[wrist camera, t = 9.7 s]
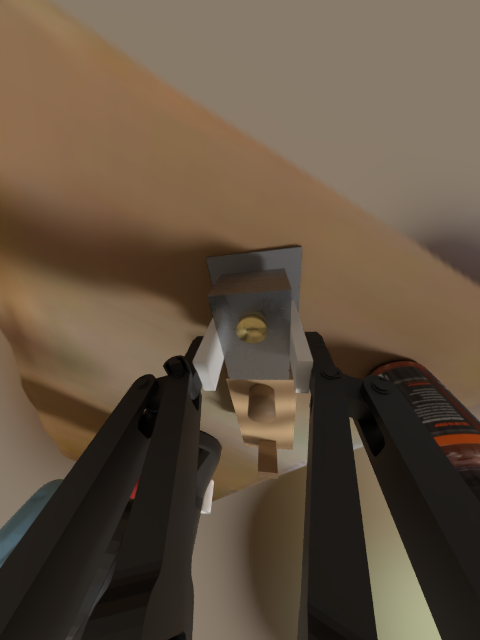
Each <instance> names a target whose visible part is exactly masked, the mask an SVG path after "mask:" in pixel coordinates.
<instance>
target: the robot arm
mask: <svg viewBox="0 0 480 640" xmlns="http://www.w3.org/2000/svg"><path fill="white" fill-rule="evenodd" d="M223 360H224V356H223V352H222V348H221V344H220V341H219V337H218V333H217V330H216V327H215V323H214V319H213V318H212V320H211V322H210V324H209V327H208V329H207V331H206V333H205V335H204V336H197V337H196V338H195V339H194V340H193V341H192V343H191V345H190V347H189V349H188V351H187V353H186V355H185V357H184V356H181V355H180V356H174V357H172V358H170V359H168V360H167V361H166V362H165V363H164V365H163V367H164V369H165V371H166V372H167V374H168V375H167V376H164V377H160V378H155V377H154V376H153V375H151V374H147V375H144V376H141V377H140V378H138V379H137V380H136V381H135V382H134V383H133V384H132V386H131V387H130V389H129V390H128V391H127V393H126V394H125V396H124V397H123V398H122V400H121V401H120V402H119V404H118V405H117V407H116V408H115V409H114V411H113V412H112V414H111V415H110V416H109V418H108V419H107V420H106V422H105V423H104V425H103V426H102V427H101V429H100V430H99V432H98V433H97V434H96V436H95V437H94V439H93V440H92V441H91V443H90V444H89V445H88V447H87V448H86V450H85V451H84V452H83V454H82V455H81V457H80V458H79V459H78V461H77V462H76V463H75V465H74V466H73V468H72V469H71V471H70V472H69V473H68V475H67V476H66V477H65V479H64V480H63V479H57V480H53V481H51V482H48V483H47V484H45V485H43V486H42V487H41V488H40V489H38V490H37V492H35V493H34V494H33V495H32V496H31V497H30V499H29V500H28V501H27V502H26V503H25V504H24V505H23V506H22V507H21V508H20V509H19V510H18V511H17V512H16V513H15V514H14V515H13V516H12V517H11V518H10V520H9V521H8V522H7V523H6V524H5V525H4V526H3V527H2V528H1V529H0V640H192V630H193V609H194V591H193V582H192V577H191V562H192V554H193V549H194V544H195V539H196V534H197V528H198V524H199V518H200V514H201V509H202V504H203V499H204V495H205V492H206V490H207V487H208V485H209V483H210V481H211V478H212V476H213V474H214V472H215V470H216V467H217V465H218V463H219V460H220V455H221V449H222V447H221V445H220V443H219V442H218V441H217V440H216V439H214V438H213V437H211V436H209V435H207V434H205V433H203V432H200V417H201V401H202V395H201V392H200V391H201V388H202V386H203V388H204V391H216V387H217V383H218V379H219V375H220V371H221V368H222V364H223ZM290 363H291V369H292V375H293V381H294V387H295V393H309V388H310V392H311V400H310V420H309V440H308V460H307V480H306V502H305V520H304V540H303V561H302V580H301V598H300V609H299V621H298V637H297V640H378V639H377V632H376V624H375V616H374V608H373V601H372V592H371V584H370V577H369V569H368V561H367V554H366V545H365V538H364V530H363V524H362V523H363V522H362V514H361V507H360V499H359V491H358V483H357V475H356V467H355V460H354V452H353V444H352V436H351V428H350V421H349V417H351V418H353V420H354V423H355V425H356V428H357V430H358V433H359V435H360V438H361V440H362V443H363V445H364V447H365V450H366V452H367V455H368V457H369V460H370V462H371V465H372V467H373V469H374V472H375V475H376V477H377V480H378V482H379V485H380V487H381V490H382V492H383V495H384V497H385V500H386V502H387V505H388V507H389V509H390V512H391V515H392V517H393V520H394V522H395V524H396V527H397V529H398V532H399V534H400V537H401V539H402V542H403V544H404V547H405V549H406V552H407V554H408V557H409V559H410V562H411V564H412V567H413V569H414V571H415V574H416V577H417V579H418V582H419V584H420V586H421V589H422V591H423V594H424V597H425V599H426V602H427V604H428V606H429V609H430V611H431V614H432V616H433V619H434V621H435V624H436V626H437V629H438V631H439V634H440V636H441V639H442V640H480V502H479V501H478V499H477V498H476V496H475V495H474V494H473V492H472V491H471V489H470V488H469V487H468V485H467V484H466V482H465V481H464V480H463V478H462V477H461V475H460V474H459V473H458V471H457V470H456V468H455V467H454V466H453V464H452V463H451V461H450V460H449V459H448V457H447V456H446V455H445V453H444V452H443V450H442V449H441V448H440V446H439V445H438V443H437V442H436V441H435V439H434V438H433V436H432V435H431V434H430V432H429V431H428V429H427V428H426V427H425V425H424V424H423V422H422V421H421V420H420V418H419V417H418V415H417V414H416V413H415V411H414V410H413V408H412V407H411V406H410V404H409V403H408V401H407V400H406V399H405V397H404V396H403V394H402V393H401V392H400V390H399V389H398V387H397V386H396V385H395V384H394V383H393V382H391V381H390V380H388V379H386V378H384V377H381V376H377V375H369V376H367V377H365V378H364V380H362V379H358V378H354V377H351V376H347V375H345V374H343V373H342V372H341V371H340V370H339V369H338V368H337V367H335V365H334V363H333V361H332V359H331V356H330V354H329V352H328V350H327V348H326V345H325V343H324V340H323V338H322V336H321V335H320V334H318V333H317V332H304V330H303V327H302V324H301V321H300V317H299V314H298V311H297V308H296V305H295V302H294V301H291V327H290ZM145 409H146V410H145ZM144 410H145V411H144ZM143 412H144V413H143ZM140 474H141V476H140ZM139 476H140V479H139V483H138V487H137V490H136V494H135V497H134V499H132V498H130V496H131V494H132V492H133V490H134V487H135V485H136V483H137V481H138V478H139Z"/></svg>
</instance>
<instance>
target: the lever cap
mask: <svg viewBox="0 0 480 640" xmlns="http://www.w3.org/2000/svg"><path fill="white" fill-rule="evenodd" d="M207 297H208V300H209V304H210V308H211V312H212V315H213V319H214V323H215V327H216V330H217V333H218V337H219V341H220V344H221V348H222V352H223V356H224V360H225V364H226V368H227V371H228V375H229V379H239V380H289V365H290V327H291V300H292V289H291V286H290V283H289V280H288V277H287V274H286V270H285V268H280V269H270V270H260V271H250V272H240V273H230V274H221V275H220V277H219V278H218V280H217V282H216V283H215V285H214V286H213V288H212V290H211V291H210V293H209V294H208V296H207Z"/></svg>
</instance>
